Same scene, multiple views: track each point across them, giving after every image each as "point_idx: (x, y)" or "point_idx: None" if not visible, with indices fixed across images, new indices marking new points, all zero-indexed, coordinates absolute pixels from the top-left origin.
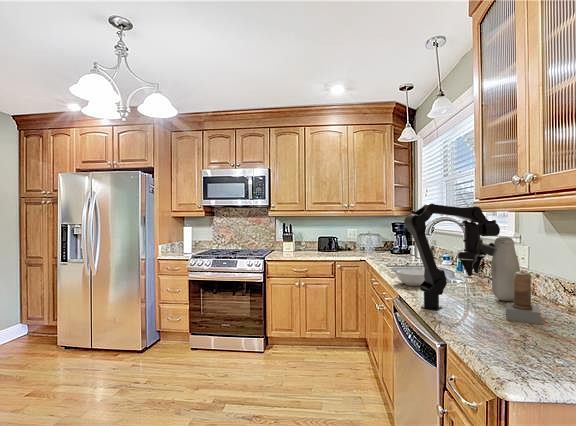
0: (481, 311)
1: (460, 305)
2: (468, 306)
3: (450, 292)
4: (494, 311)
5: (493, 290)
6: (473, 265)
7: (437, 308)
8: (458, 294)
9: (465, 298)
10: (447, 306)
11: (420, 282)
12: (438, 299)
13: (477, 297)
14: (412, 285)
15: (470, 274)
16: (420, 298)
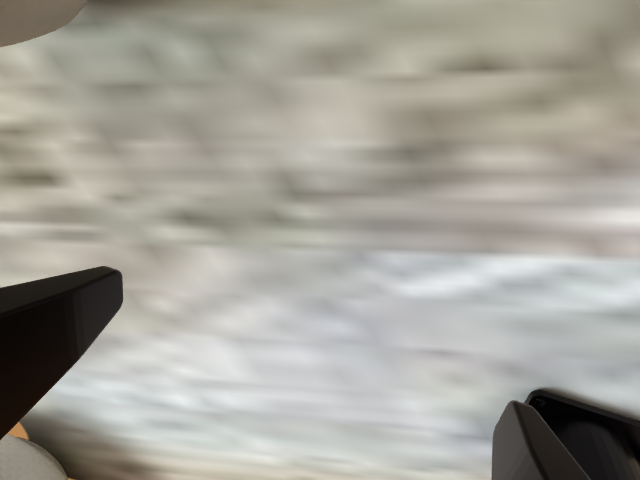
0: (558, 124)
1: (408, 272)
2: (415, 220)
3: None
4: (514, 9)
5: (33, 31)
6: (4, 411)
7: (630, 428)
8: None
9: (175, 234)
10: (480, 353)
11: (47, 470)
12: (617, 473)
13: (95, 156)
14: (65, 476)
15: (547, 442)
16: (329, 471)
